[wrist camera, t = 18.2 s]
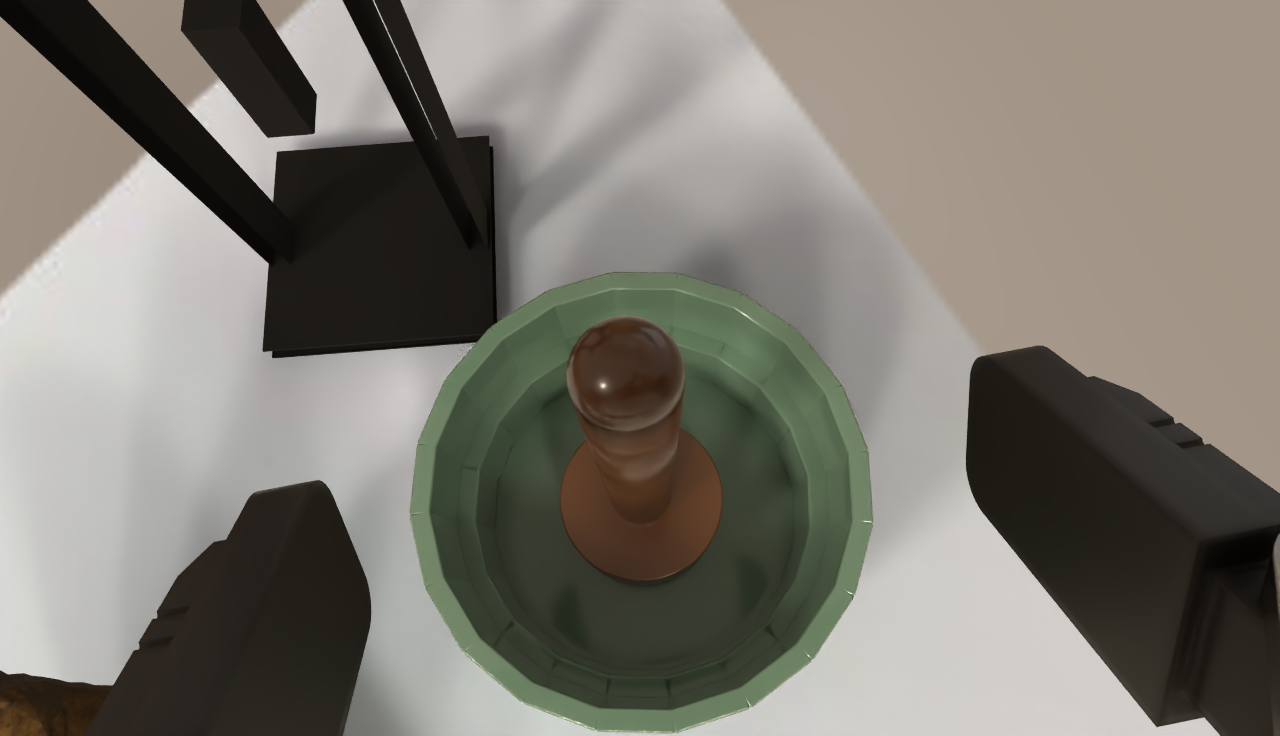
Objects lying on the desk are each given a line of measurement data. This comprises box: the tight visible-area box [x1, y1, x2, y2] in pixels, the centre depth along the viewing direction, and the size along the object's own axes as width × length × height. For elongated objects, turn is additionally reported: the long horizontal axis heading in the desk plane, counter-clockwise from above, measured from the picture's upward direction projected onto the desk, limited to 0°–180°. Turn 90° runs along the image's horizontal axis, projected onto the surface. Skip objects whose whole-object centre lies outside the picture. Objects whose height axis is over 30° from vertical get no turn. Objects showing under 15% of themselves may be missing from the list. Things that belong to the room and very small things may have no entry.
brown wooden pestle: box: [560, 315, 723, 586], centre depth 17 cm, size 4×4×15 cm
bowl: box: [410, 272, 873, 733], centre depth 22 cm, size 11×11×6 cm
